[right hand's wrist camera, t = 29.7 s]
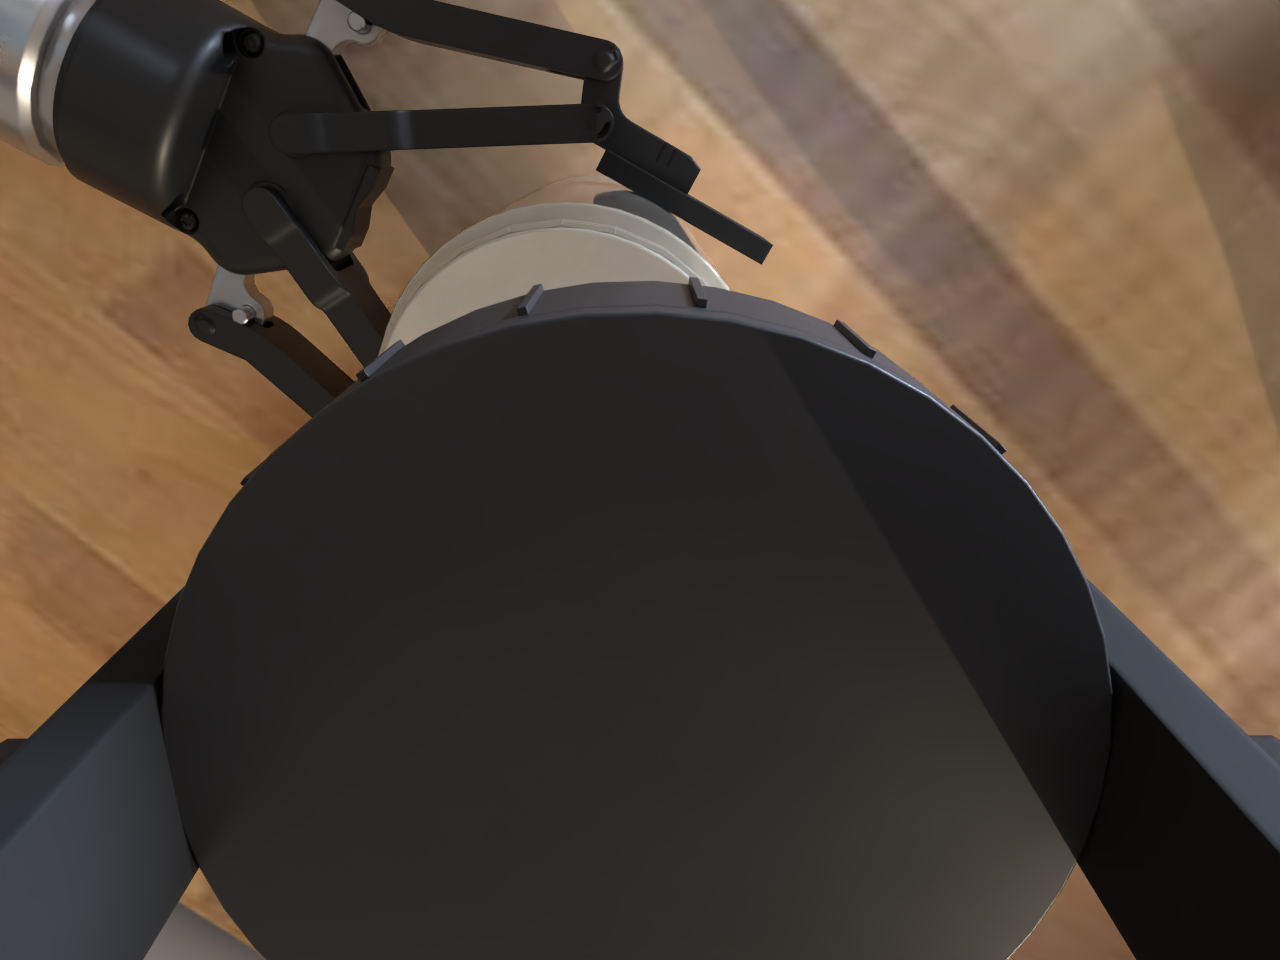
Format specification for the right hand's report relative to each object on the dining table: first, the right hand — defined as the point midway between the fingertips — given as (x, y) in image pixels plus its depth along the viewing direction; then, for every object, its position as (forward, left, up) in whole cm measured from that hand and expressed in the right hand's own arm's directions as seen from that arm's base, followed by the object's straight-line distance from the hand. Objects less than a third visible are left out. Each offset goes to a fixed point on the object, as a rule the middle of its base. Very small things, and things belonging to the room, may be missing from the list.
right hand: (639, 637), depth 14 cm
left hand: (-1, +2, -22) cm, 22 cm away
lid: (0, 0, +3) cm, 3 cm away
